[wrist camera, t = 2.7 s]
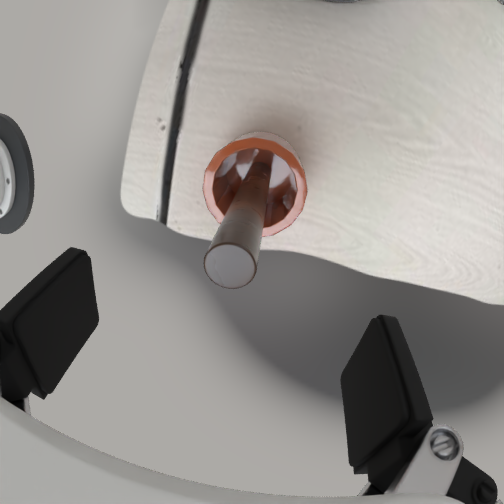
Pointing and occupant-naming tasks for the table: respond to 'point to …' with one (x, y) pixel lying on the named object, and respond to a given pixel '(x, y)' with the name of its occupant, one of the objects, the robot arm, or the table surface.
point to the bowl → (342, 0)
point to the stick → (240, 232)
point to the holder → (281, 183)
